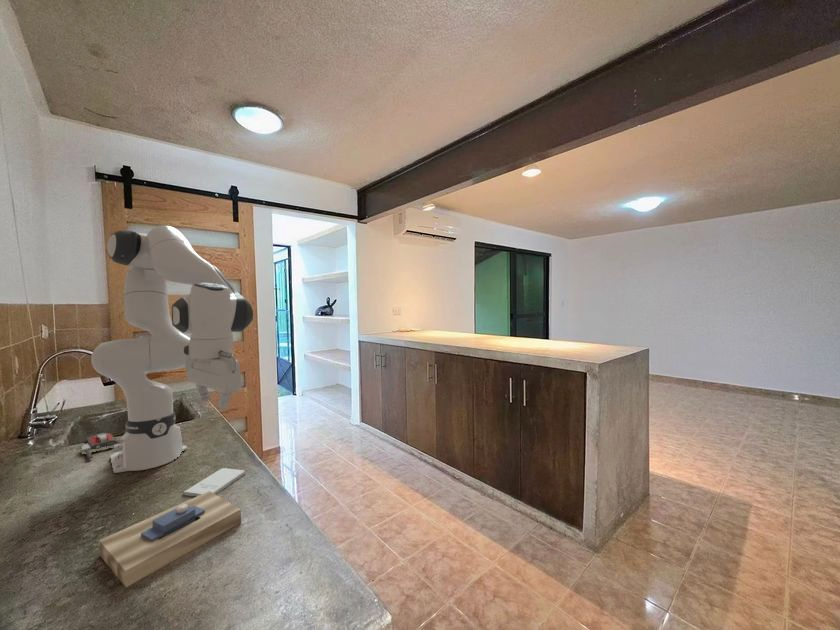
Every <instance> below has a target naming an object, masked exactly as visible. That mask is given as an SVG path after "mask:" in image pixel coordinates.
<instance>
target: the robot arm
mask: <svg viewBox="0 0 840 630" xmlns="http://www.w3.org/2000/svg"><path fill="white" fill-rule="evenodd" d="M186 237H187V236H185V235H184V234H183V233H182V232H181V231H180V230H178V228H175V227H173V226H170V225H158V226H155V227H153V228H151V229H150V230H149V231H148V233H143V232H136V231H133V230H117V231H114V232H113V233H112V234H111V236H110V237H109V239H108V242H107V243H106V249H107V253H108V255H109V258H110V259H111V261H113V262H114V263H116V264H120V265H122V266H125V267H126V266H130V267H128V268H129V269H127V272H126V274H125V281H124V287H123V304H124V305H123V307H124V308H123V310H124V320H125V321H126V322H127V323H128V324H129V325H131V326H132V327H135V328H138V329H142V330H144V331H146V332H148V333H149V334H150V335H151V336H148V337H135V338H121V339H115V340H110V341H106V342H105V341H104V342H101V343H99V344H98V345H97V346H96V347H95V348H94V350H93V352H92V354H91V357H90V361H91V366H92V368H93V369H94V371H96V372H97V373H98V374H100V375H102V376H104V377H106V378H108V379H110V380H112V381H113V382H114V383H116V384H117V385H118V386H119V387H120V388H121V390H122V391H123V394H124V397H125V400H126V406H127V420H126V423H125V433H124V434H123V435H122V436H121V437H120V438H119V440H118V442H119V443H118V444H116V445H113V448H112V451H113V453H112V454H111V455H109V459H110V458H111V461H110V463H112V465H111V469H112V468H113V469H112V472H113V473H114V474H118V473H124V472H136V471H144V470H149V469H153V468H157V467H160V466H163V465H166V464H168V463H171V462H173V461H174V459H175V460H176V459H178V458H179V457H180V456H181V455H182V453H183V452H182V451H184V450H185V449H186V448H187V449H188V446H187V445H184V444H183V441H182V440H183V439H182V432H181V427H180V426H179V425H177V424H176V413H175V411H174V397H173V396H174V392H173V389H172V388H171V387H170V386H169V385H167V384H164V383H163V382H162V383H161V382H158V381H154V380H151V379H149V378H148V377H147V374H149V373H155V372H165V371H166V372H167V371H175V370H179V369H182V368H185V374H186V378H187V380H188V382H190V383H193V384H195V385H196V390H197V392H198V396H199V397H198V398H199V399H198V400H199V401H200V402H202V403H205V402H209V401H210V393H209V391H208V389H210V390H213V391H215V392H218V394H219V396H220V397H219V400H218V401H217V407H218V409H220V410H226V409H228V408H229V406H230V405H229V404H230V403H229V401H230V399H231V396H232V394H233V393H235V392H236V393H237V392H239V391H240V390H241V389H242V375H241V367H240V366H241V365H240V362H239V361H238V359H236V357H235V356H234V337H233V336H234V335H233V333H240V332H243V331H244V330H245V329H247V328H248V327H249V326H250V325H251V323H252V322H253V319H254V310H253V308H252V304H251V303H250V302H249V301H248V299H247V298H245V297H244V296H242V295H241V294H240V293H239V292H238V291H237V289H236V288H235V287H234V286H233V285H232V284H231V282H230V281H229V280H228V278H226V276H225V275H224V274H223V273H222V272H221V271H220V270H219V268H217V266H215V265H214V264H212V263H210V262H208V261H207V260H205V259H204V258H203V257H201V256H200V255H199V254H198V253H197V252H196V251H195V249H194V247H193V246H192V244H191V243H190V241H189V240H188V238H186ZM167 281H169V282H173V283H177V284H182V285H183V284H184V285H190V286H191V288H190V293H189V294H188V295H187V296H184V297H180V298H178V299H177V300H176V301H175V302H174V303H172V305H171V313H170V305H169V295H168V287H167V286H168V285H167ZM184 333H185V334H184ZM186 334H190V336H187V335H186ZM185 451H186V450H185ZM185 451H184V452H185ZM181 452H182V453H181ZM180 454H181V455H180ZM177 457H178V458H177Z"/></svg>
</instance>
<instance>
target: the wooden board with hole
mask: <svg viewBox="0 0 840 630" xmlns="http://www.w3.org/2000/svg"><path fill="white" fill-rule="evenodd" d="M183 504H187V505H188V506H189V507H192V506H197V507H199V508H201V509H204V510H205V513H203V514H201V515H200V516H198V517H196V518H195V522H193V523H191V524H189V525H187V526H185V527H183V528H181V529H179V530H177V531H175V532H173V533H171V534H169V535H167V536H165V537H163V538H161V539H159V540H158V539H157V540H155V541H153V542H151V541H149V540H147V539H145V538H143V537H142V536H141V533H142V532H144V531H146V530H148V529H150V528H152V527H153V524H152V521H153V520H155V519H157V518H159V517H161V516H163V515H165V514H167V513H169V512H171V511H172V510H174V509H176V508H177V507H178V506H180V505H183ZM241 523H242V509H241V508H239V507H237V506H236V505H235V504H232V503H231V502H229V501H228V500H226V499H224V498H222V497H221V496H219V495H217V494H216V495H215V494H214V493H212V492H210V491H208V492H206V493H204V494H201V495H199V496H194V497H193V498H191V499H188V500H185V501H184V502H182V503H180V504H177V505H174V506H173V507H170V508H169V509H166V510H164V511H161V512H159V513H157V514H155V515H153V516H150V517H148V518H146V519H144V520H142V521H140V522H138V523H135V524H132V525H131V526H128V527H126V528H123V529H121V530H119V531H117V532H115V533H113V534H110V535H108V536H106V537H104V538H102V539H100V540H99V541H98V544H99V556H100V558H101V559H102V560H103V562H104V563H105V564H106V565H107V566H108V567H109V569H110V570H111V571H112V572H113V574H114V575H115V576H116V578H117V579H118V580H119V581H120V582H121V583H122V585H123V586H124V587H125V588H128V587H130V586H132V585H133V584H135V583H137V582H138V581H141V580H142V579H144V578H146V577H148V576H149V575H151V574H154V572H156V571H159V570H160V569H162V568H163V567H165V566H166V565H168V564H170V563H172V562H174V561H175V560H178V559H180V557H183V556H184V555H186V554H188V553H190V552H191V551H193V550H195V549H197V548H199V547H200V546H202V545H204V544H206V543H207V542H210V541H211V540H213V539H214V538H216V537H218V536H220V535H221V534H224V533H225V532H227V531H228V530H230V529H232V528H233V527H235V526H238V525H240V524H241Z"/></svg>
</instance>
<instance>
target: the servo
mask: <svg viewBox="0 0 840 630" xmlns="http://www.w3.org/2000/svg"><path fill="white" fill-rule="evenodd" d="M203 513H205V510H204V509H201V508H199V507H197V506H192V507H189V506H188V505H187V504H183V505H180V506H178V507H177V508H176V509H174V510H172V511H171V512H169V513H167V514H165V515H163V516H161V517H159V518H157V519H155V520H153V521H152V524H153V527H152V528H150V529H148V530H146V531H144V532H142V533H141V536H142V537H143V538H145V539H147V540H149V541H151V542H153V541H155V540H157V539H158V540H159V539H161V538H163V537H165V536H167V535H169V534H171V533H173V532H175V531H177V530H179V529H181V528H183V527H185V526H187V525H189V524H191V523H193V522H195V518H196V517H198V516H200V515H201V514H203Z"/></svg>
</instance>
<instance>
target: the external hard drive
mask: <svg viewBox="0 0 840 630" xmlns="http://www.w3.org/2000/svg"><path fill="white" fill-rule="evenodd" d="M245 475H246V470H243V469H236V468H226V467H222V468H220V469H219V470H217V471H215V472H213V473H212V474H210V475H209V476H207V477H205V478H204V479H202V480H200V481H198V483H195V484H194V485H192V486H191V487H189V488H188V489H186V490H184V491H183V493H182V495H183V496H188V497H197V496H199V495H201V494H204V493H206V492H208V491H210V492H212V493H214V494H215V495H217V494H219V493H220V492H221V491H223V490H225V489H226V488H227V487H230V485H232V484H233V483H234V482H236V481H238V480H239V479H240V478H242V477H243V476H245ZM237 479H238V480H237Z"/></svg>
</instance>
